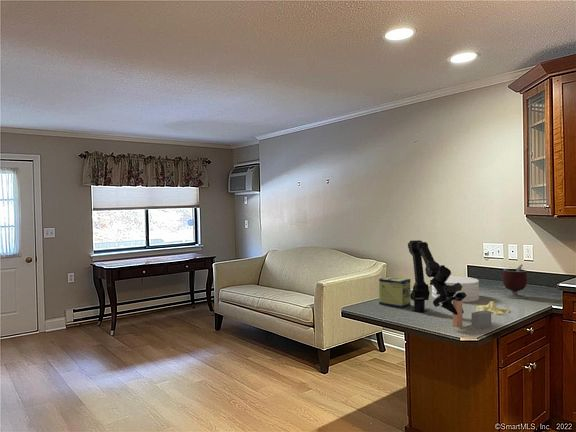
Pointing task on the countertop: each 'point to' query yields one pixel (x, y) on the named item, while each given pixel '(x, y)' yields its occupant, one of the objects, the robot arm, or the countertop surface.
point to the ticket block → (479, 320)
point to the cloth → (492, 309)
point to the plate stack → (467, 284)
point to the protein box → (394, 292)
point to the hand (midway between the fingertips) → (460, 313)
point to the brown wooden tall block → (458, 318)
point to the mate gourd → (515, 281)
